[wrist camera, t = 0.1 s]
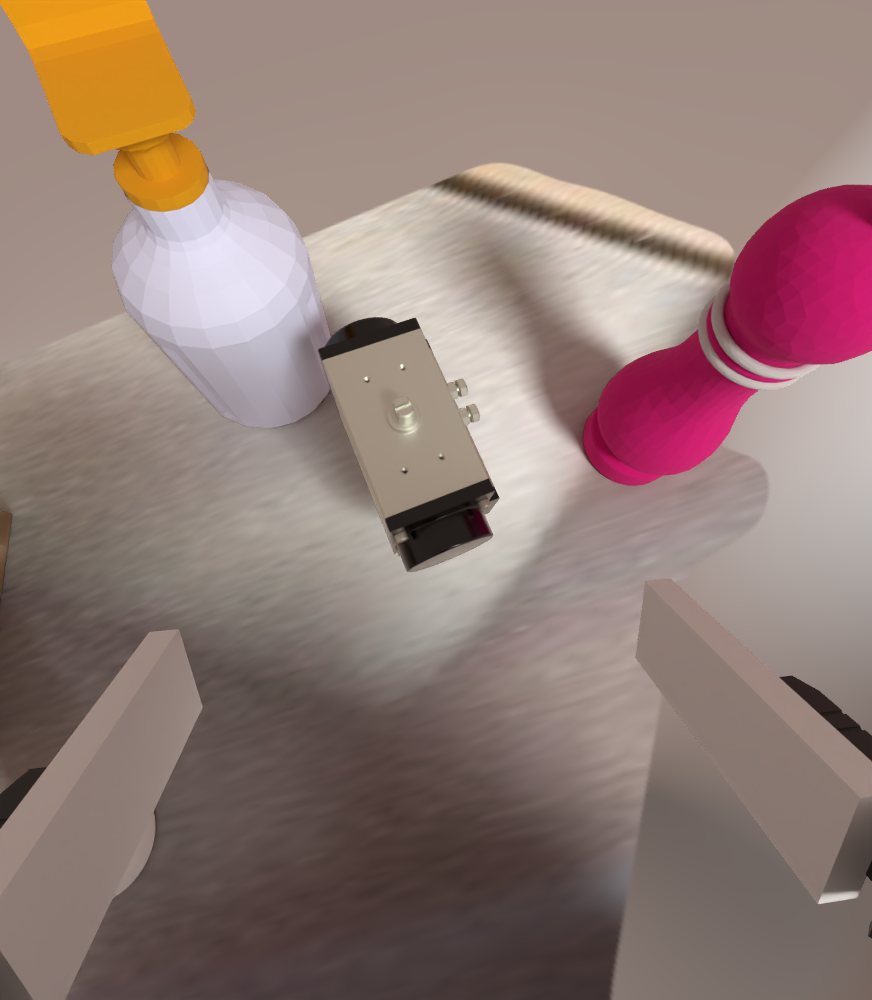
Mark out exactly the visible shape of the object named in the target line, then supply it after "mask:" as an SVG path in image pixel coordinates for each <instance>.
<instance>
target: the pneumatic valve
mask: <svg viewBox="0 0 872 1000" xmlns="http://www.w3.org/2000/svg"><path fill="white" fill-rule="evenodd" d="M318 353H319V356H320V359H321V362H322V365H323V368H324V371H325V374H326V377H327V379H328V382H329V385H330V388H331V391H332V394H333V397H334V400H335V403H336V406H337V409H338V412H339V414H340V417H341V420H342V422H343V425H344V427H345V430H346V432H347V435H348V437H349V440H350V442H351V445H352V448H353V450H354V453H355V455H356V458H357V460H358V463H359V465H360V468H361V470H362V473H363V476H364V478H365V481H366V483H367V486H368V488H369V491H370V493H371V496H372V498H373V501H374V504H375V506H376V509H377V511H378V514H379V516H380V519H381V521H382V524H383V526H384V529H385V532H386V534H387V537H388V539H389V542H390V544H391V547H392V549H393V552H394V554H395V553H398V555H399V556H401V558H402V561H403V563H404V566H405V568H406V571H407V572H415V571H419V570H422V569H425V568H428V567H431V566H434V565H437V564H439V563H442V562H444V561H447V560H449V559H452V558H454V557H456V556H458V555H461V554H463V553H465V552H467V551H469V550H471V549H474V548H476V547H477V546H479V545H481V544H483V543H485V542H486V541H488V540H490V539H491V538H492V537H493V533H492V531H491V528H490V526H489V524H488V522H487V519H486V517H485V514H488V513H489V512H490V511H491V509H492V508H493V506H494V505H495V504H496V502H497V501H498V500H499V496H498V494H497V492H496V490H495V487H494V485H493V483H492V481H491V479H490V476H489V474H488V472H487V470H486V468H485V465H484V463H483V461H482V459H481V457H480V455H479V452H478V450H477V448H476V446H475V444H474V441H473V439H472V437H471V435H470V433H469V431H468V428H467V426H466V425H468V424H469V423H470V421H471V422H476V421H479V419H480V415H479V411H478V409H477V407H476V405H475V404H472V405H468V406H466V408H467V410H466V409H465V408H460V409H458V406H457V404H456V402H455V400H454V399H457V398H458V395H459V396H460V397H462V396H465V395H467V394H468V389H467V385H466V383H465V381H464V380H463V379H459V380H456V381H455V384H454V383H453V382H450V383H447V382H446V380H445V378H444V376H443V374H442V372H441V369H440V367H439V365H438V363H437V361H436V358H435V356H434V354H433V352H432V350H431V347H430V345H429V343H428V341H427V339H425V337H424V335H423V332H422V330H421V328H420V326H419V324H418V321H417V319H416V318H412V319H409V320H406V321H403V322H400V323H396V322H395V321H393V320H391V319H388V318H382V317H373V318H366V319H362V320H358V321H355V322H353V323H351V324H348V325H347V326H345V327H343V328H341V329H340V330H339V331H337V332H336V333H335V334H334V335H333V336H332V337H331V338H330V339H329V340H328V342H327V343H326V345H325V347H322V348H319V349H318Z"/></svg>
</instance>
